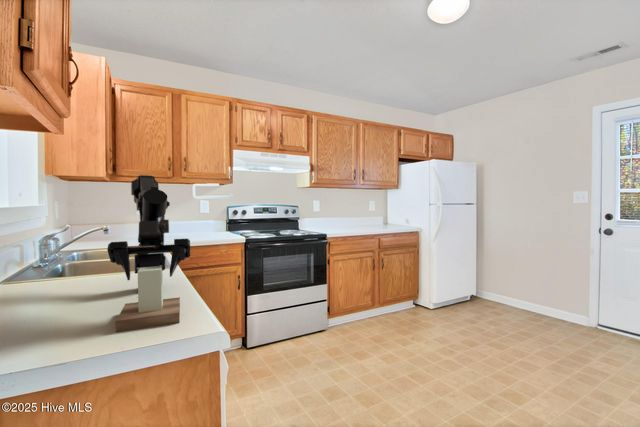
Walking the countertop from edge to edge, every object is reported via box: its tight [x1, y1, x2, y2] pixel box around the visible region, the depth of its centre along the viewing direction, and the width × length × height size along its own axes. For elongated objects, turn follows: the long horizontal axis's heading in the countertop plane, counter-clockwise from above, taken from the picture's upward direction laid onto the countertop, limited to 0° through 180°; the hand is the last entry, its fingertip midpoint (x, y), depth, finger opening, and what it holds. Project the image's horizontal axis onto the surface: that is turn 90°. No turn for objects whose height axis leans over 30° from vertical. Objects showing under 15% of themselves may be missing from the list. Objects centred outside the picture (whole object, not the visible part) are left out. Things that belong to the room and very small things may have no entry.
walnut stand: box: [115, 296, 181, 333], centre depth 78 cm, size 13×13×2 cm
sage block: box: [137, 266, 164, 313], centre depth 78 cm, size 5×5×10 cm
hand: (150, 277), depth 76 cm, fingers open, 9 cm apart
